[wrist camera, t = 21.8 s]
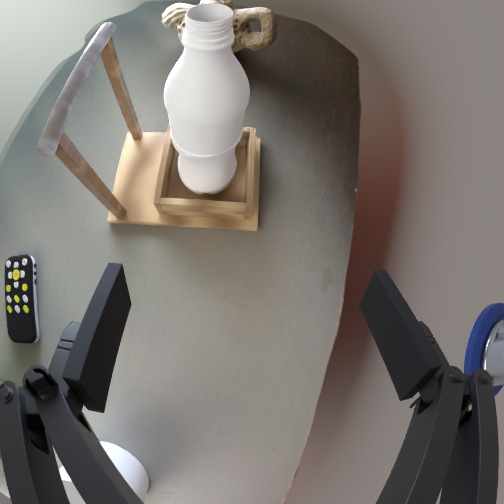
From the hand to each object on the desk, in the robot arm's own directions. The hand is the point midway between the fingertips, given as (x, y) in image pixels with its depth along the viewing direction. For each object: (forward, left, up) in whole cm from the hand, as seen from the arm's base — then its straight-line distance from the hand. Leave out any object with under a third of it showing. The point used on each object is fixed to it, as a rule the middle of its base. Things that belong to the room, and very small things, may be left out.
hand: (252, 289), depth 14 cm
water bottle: (+4, -16, -21) cm, 26 cm away
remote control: (+31, +3, -22) cm, 38 cm away
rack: (+7, -16, -21) cm, 28 cm away
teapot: (+6, -44, -22) cm, 49 cm away
